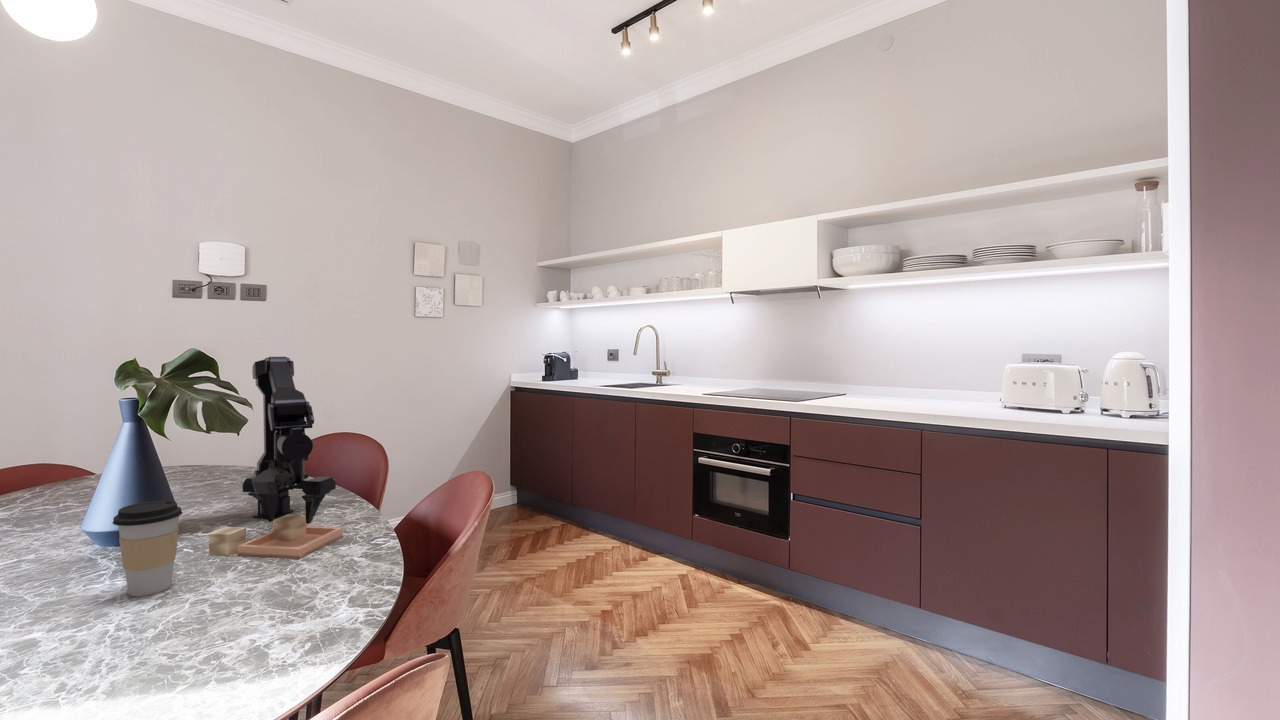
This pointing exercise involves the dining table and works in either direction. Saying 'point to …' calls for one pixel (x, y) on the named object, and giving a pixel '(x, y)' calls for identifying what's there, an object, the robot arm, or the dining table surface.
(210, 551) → the block
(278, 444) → the robot arm
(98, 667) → the dining table surface
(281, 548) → the tray
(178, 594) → the dining table surface
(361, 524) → the dining table surface
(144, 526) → the coffee cup
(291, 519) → the block
